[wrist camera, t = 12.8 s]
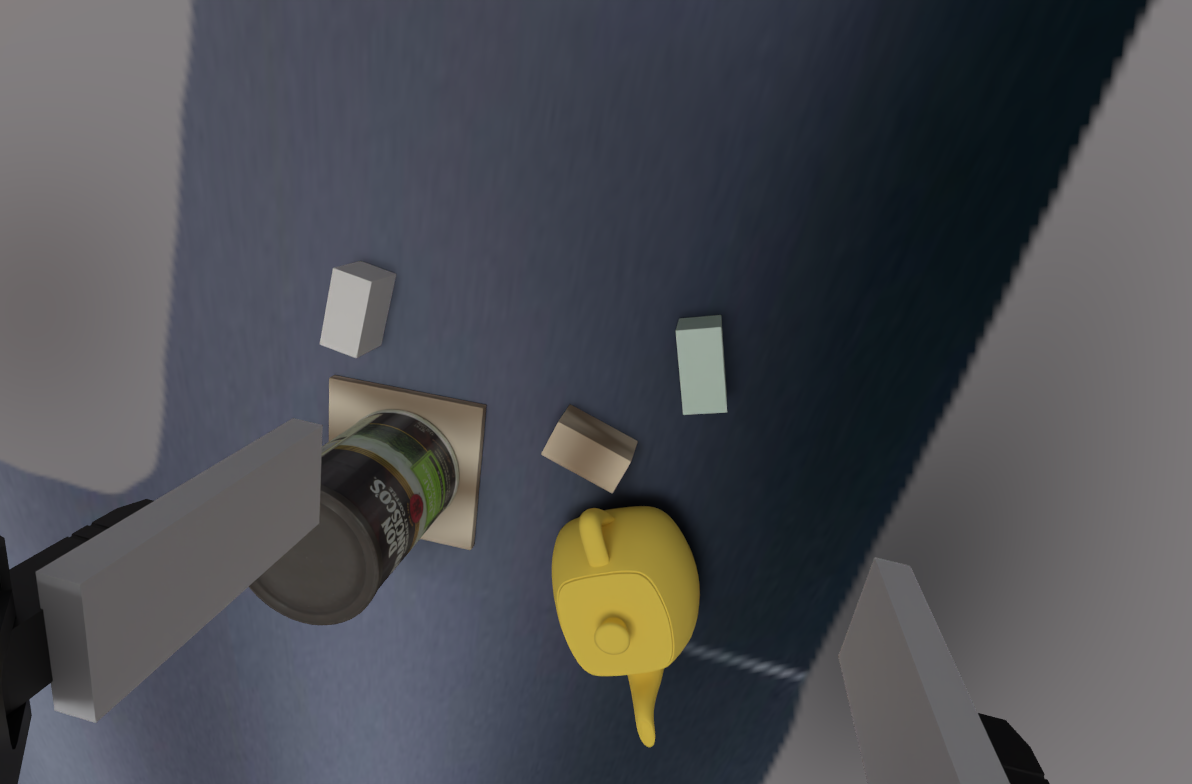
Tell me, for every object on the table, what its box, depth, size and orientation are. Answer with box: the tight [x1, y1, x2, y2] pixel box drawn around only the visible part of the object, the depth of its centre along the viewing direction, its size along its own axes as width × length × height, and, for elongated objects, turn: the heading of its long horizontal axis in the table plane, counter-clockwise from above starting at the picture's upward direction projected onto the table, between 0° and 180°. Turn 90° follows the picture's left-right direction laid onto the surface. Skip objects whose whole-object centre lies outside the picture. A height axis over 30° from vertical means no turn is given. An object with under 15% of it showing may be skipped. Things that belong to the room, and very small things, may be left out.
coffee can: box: [249, 409, 459, 625], centre depth 50 cm, size 10×10×14 cm
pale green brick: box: [676, 315, 727, 415], centre depth 48 cm, size 6×3×4 cm, turn 7°
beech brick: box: [541, 404, 638, 493], centre depth 52 cm, size 6×3×4 cm, turn 63°
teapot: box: [552, 506, 700, 747], centre depth 51 cm, size 18×11×11 cm, turn 16°
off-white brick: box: [320, 261, 396, 358], centre depth 52 cm, size 6×3×4 cm, turn 162°
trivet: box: [329, 375, 486, 550], centre depth 57 cm, size 13×13×1 cm
